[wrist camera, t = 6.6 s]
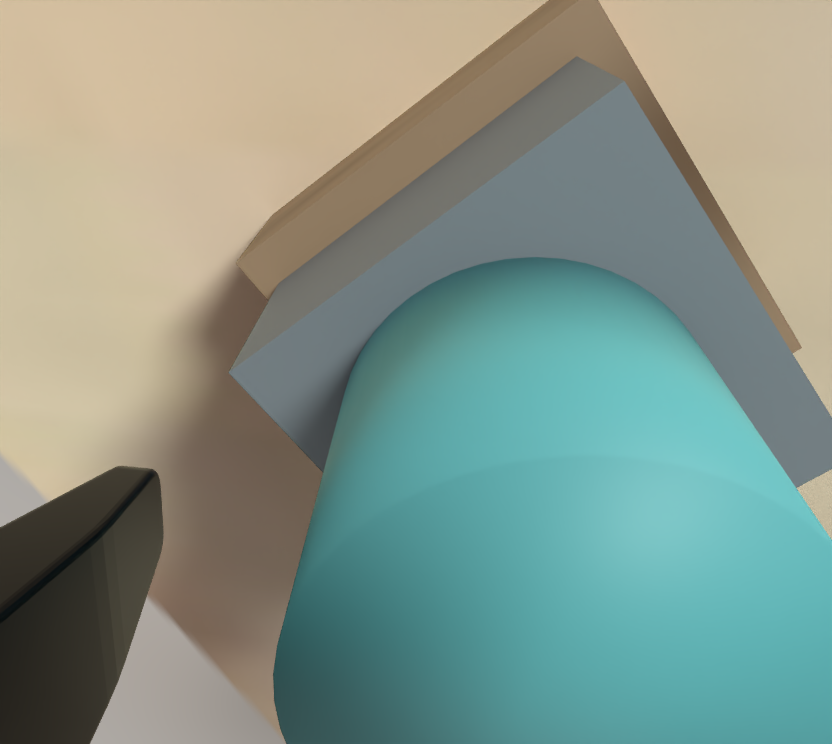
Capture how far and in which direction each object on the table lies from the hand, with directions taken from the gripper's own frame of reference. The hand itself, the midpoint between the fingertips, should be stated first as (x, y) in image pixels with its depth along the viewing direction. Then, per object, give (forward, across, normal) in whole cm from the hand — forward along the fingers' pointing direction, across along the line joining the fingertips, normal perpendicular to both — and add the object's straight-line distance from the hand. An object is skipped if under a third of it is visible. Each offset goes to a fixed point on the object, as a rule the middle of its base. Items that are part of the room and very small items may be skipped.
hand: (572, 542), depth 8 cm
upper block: (+6, 0, 0) cm, 6 cm away
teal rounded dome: (+2, 0, 0) cm, 2 cm away
